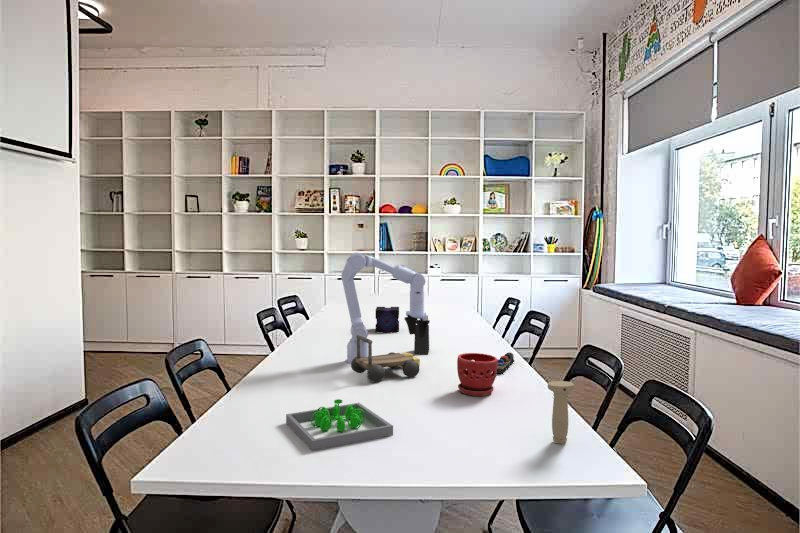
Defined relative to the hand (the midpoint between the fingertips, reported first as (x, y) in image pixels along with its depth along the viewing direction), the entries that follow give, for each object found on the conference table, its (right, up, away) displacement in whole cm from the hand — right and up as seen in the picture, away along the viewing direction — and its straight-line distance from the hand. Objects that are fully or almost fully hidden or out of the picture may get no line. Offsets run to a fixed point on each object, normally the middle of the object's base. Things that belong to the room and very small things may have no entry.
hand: (416, 335), depth 226 cm
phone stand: (+3, -10, +17) cm, 20 cm away
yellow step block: (-3, -11, -8) cm, 14 cm away
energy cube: (-13, -6, +68) cm, 70 cm away
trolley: (-12, -12, -21) cm, 27 cm away
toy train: (+34, -12, -11) cm, 37 cm away
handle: (+34, -17, -85) cm, 93 cm away
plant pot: (+19, -14, -43) cm, 48 cm away
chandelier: (-24, -16, -73) cm, 78 cm away
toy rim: (-24, -16, -76) cm, 81 cm away
